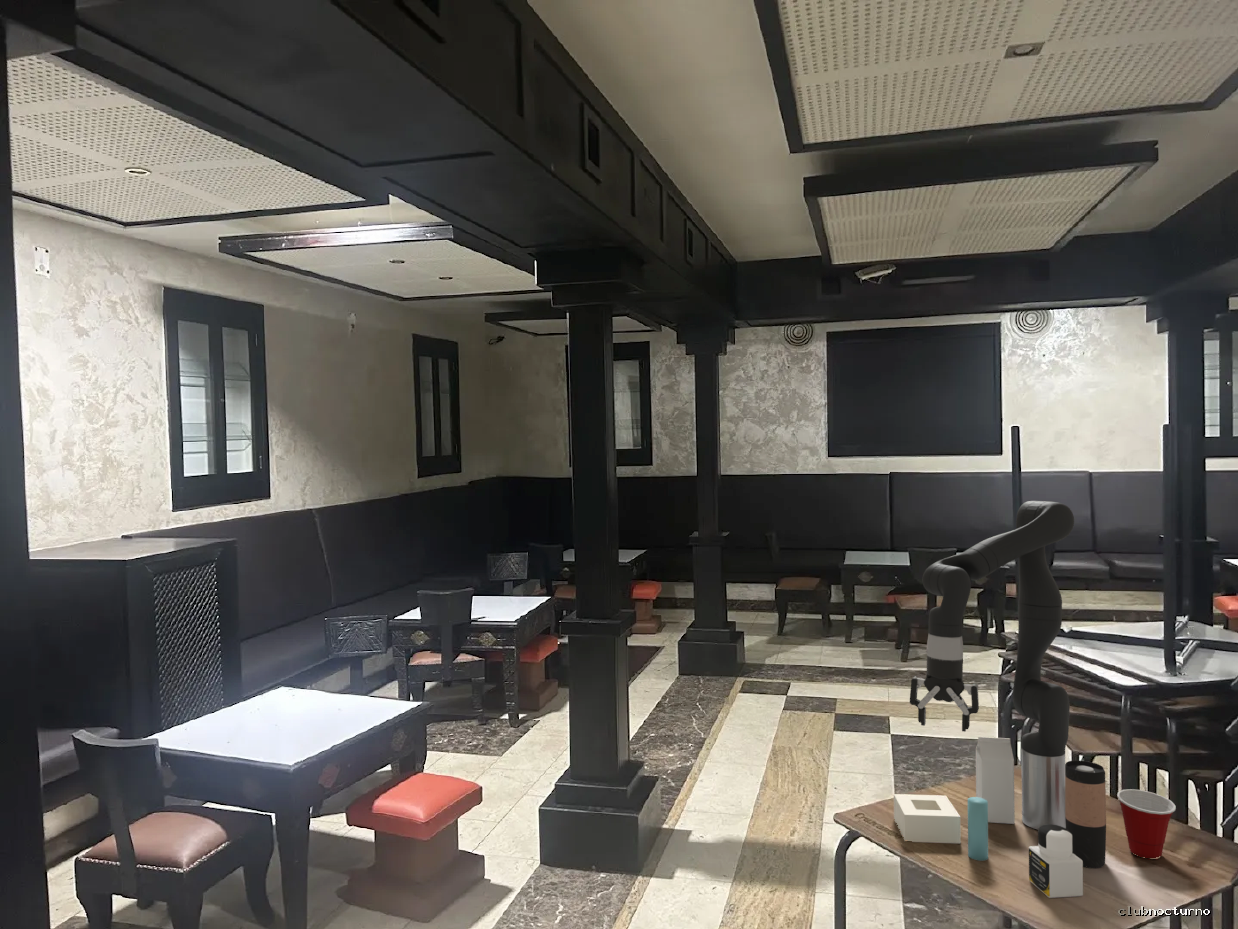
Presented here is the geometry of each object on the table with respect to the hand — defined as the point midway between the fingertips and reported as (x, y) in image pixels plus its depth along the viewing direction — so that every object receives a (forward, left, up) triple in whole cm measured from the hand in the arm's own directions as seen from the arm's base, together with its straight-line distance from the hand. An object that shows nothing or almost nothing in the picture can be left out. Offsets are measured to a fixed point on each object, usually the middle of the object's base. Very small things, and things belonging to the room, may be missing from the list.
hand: (943, 727), depth 191 cm
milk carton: (-15, -15, -26) cm, 34 cm away
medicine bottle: (-16, +19, -26) cm, 36 cm away
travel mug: (-27, +6, -26) cm, 38 cm away
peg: (-5, +6, -26) cm, 27 cm away
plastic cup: (-41, +2, -26) cm, 49 cm away
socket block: (+3, -6, -26) cm, 27 cm away
